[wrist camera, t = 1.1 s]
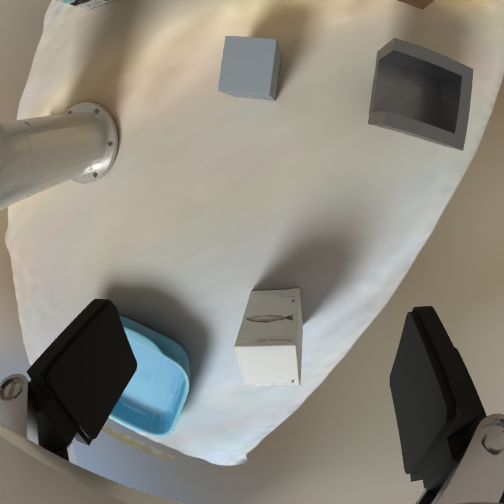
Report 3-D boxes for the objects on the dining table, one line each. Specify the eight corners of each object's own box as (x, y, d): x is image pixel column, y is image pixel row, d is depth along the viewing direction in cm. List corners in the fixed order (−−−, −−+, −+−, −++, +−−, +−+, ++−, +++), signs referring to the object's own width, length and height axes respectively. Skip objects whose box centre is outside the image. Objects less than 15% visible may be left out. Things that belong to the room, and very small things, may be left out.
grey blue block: (234, 96, 34) (218, 90, 26) (240, 52, 31) (225, 36, 24) (275, 100, 33) (269, 95, 26) (281, 55, 31) (276, 39, 23)
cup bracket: (355, 123, 33) (383, 124, 21) (363, 63, 29) (394, 37, 18) (414, 138, 32) (462, 150, 21) (422, 80, 29) (473, 69, 17)
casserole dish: (175, 426, 66) (166, 447, 60) (98, 389, 65) (85, 408, 59) (213, 333, 50) (201, 362, 43) (100, 281, 49) (78, 302, 43)
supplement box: (300, 286, 43) (298, 345, 32) (303, 326, 46) (301, 387, 35) (250, 288, 45) (232, 346, 33) (256, 328, 48) (243, 387, 36)
